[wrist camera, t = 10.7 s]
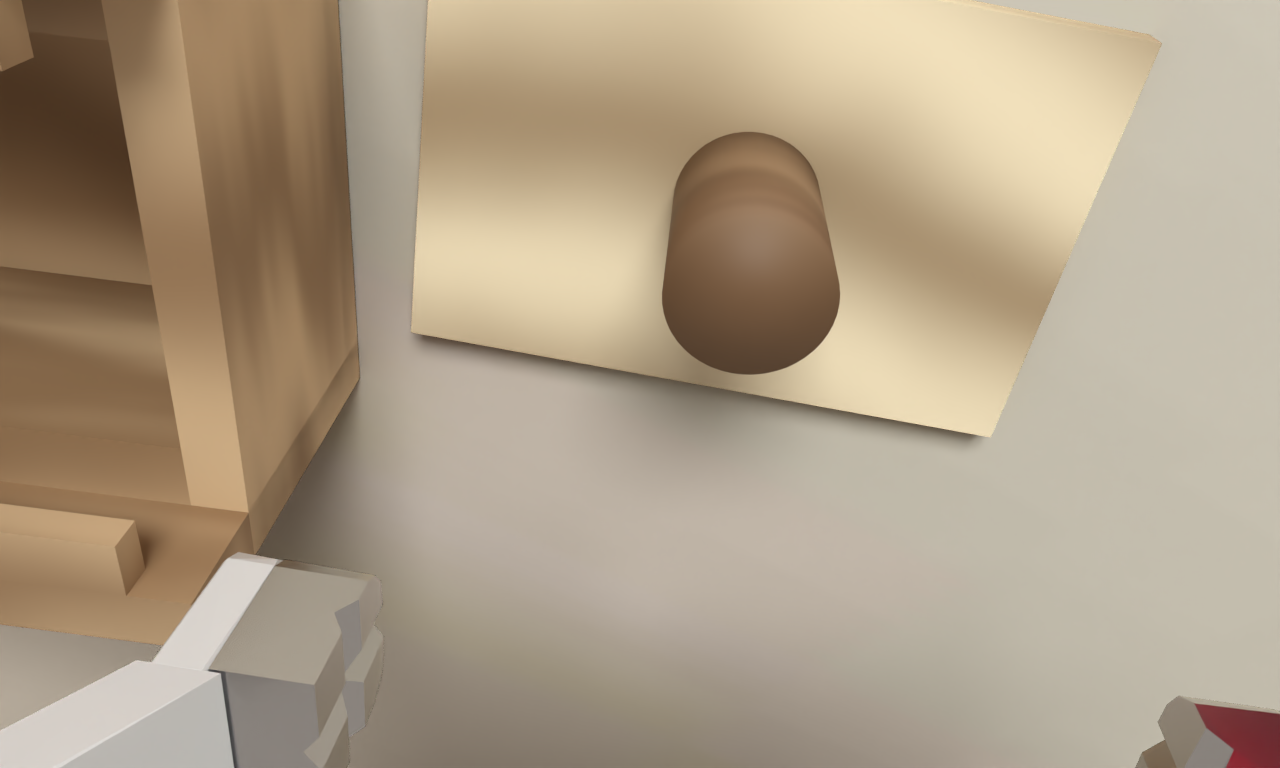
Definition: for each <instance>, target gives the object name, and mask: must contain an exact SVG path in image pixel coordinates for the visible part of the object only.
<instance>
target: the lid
mask: <svg viewBox="0 0 1280 768" xmlns="http://www.w3.org/2000/svg"><path fill="white" fill-rule="evenodd" d="M1161 45H1162V43H1161V42H1159V41H1158V40H1156V39H1155V38H1153V37H1152V36H1150V35H1149V34H1144V33H1139V32H1134V31H1128V30H1123V29H1118V28H1113V27H1108V26H1102V25H1097V24H1092V23H1087V22H1082V21H1077V20H1071V19H1066V18H1061V17H1056V16H1051V15H1045V14H1040V13H1035V12H1030V11H1025V10H1020V9H1014V8H1009V7H1004V6H999V5H994V4H988V3H983V2H978V1H973V0H428V9H427V28H426V48H425V68H424V87H423V107H422V126H421V146H420V165H419V185H418V204H417V224H416V243H415V263H414V282H413V302H412V322H411V333H417V334H422V335H428V336H433V337H439V338H445V339H450V340H456V341H461V342H467V343H472V344H478V345H483V346H489V347H494V348H500V349H505V350H511V351H516V352H522V353H527V354H533V355H538V356H544V357H549V358H555V359H560V360H566V361H571V362H577V363H583V364H588V365H594V366H599V367H605V368H610V369H616V370H621V371H627V372H632V373H638V374H643V375H649V376H654V377H660V378H665V379H671V380H676V381H682V382H687V383H693V384H698V385H704V386H710V387H715V388H721V389H726V390H732V391H737V392H743V393H748V394H754V395H759V396H765V397H770V398H776V399H781V400H787V401H792V402H798V403H803V404H809V405H814V406H820V407H825V408H831V409H837V410H842V411H848V412H853V413H859V414H864V415H870V416H875V417H881V418H886V419H892V420H897V421H903V422H908V423H914V424H919V425H925V426H930V427H936V428H941V429H947V430H952V431H958V432H963V433H969V434H975V435H980V436H986V437H991V436H992V433H993V431H994V429H995V426H996V424H997V422H998V419H999V417H1000V415H1001V413H1002V410H1003V408H1004V406H1005V403H1006V401H1007V399H1008V396H1009V394H1010V392H1011V390H1012V387H1013V385H1014V383H1015V380H1016V378H1017V376H1018V374H1019V371H1020V369H1021V367H1022V364H1023V362H1024V360H1025V357H1026V355H1027V353H1028V351H1029V348H1030V346H1031V344H1032V341H1033V339H1034V337H1035V334H1036V332H1037V330H1038V328H1039V325H1040V323H1041V321H1042V318H1043V316H1044V314H1045V311H1046V309H1047V307H1048V305H1049V302H1050V300H1051V298H1052V295H1053V293H1054V291H1055V288H1056V286H1057V284H1058V282H1059V279H1060V277H1061V275H1062V272H1063V270H1064V268H1065V265H1066V263H1067V261H1068V259H1069V256H1070V254H1071V252H1072V249H1073V247H1074V245H1075V242H1076V240H1077V238H1078V236H1079V233H1080V231H1081V229H1082V226H1083V224H1084V222H1085V219H1086V217H1087V215H1088V213H1089V210H1090V208H1091V206H1092V203H1093V201H1094V199H1095V197H1096V194H1097V192H1098V190H1099V187H1100V185H1101V183H1102V180H1103V178H1104V176H1105V174H1106V171H1107V169H1108V167H1109V164H1110V162H1111V160H1112V157H1113V155H1114V153H1115V151H1116V148H1117V146H1118V144H1119V141H1120V139H1121V137H1122V134H1123V132H1124V130H1125V128H1126V125H1127V123H1128V121H1129V118H1130V116H1131V114H1132V111H1133V109H1134V107H1135V105H1136V102H1137V100H1138V98H1139V95H1140V93H1141V91H1142V88H1143V86H1144V84H1145V82H1146V79H1147V77H1148V75H1149V72H1150V70H1151V68H1152V65H1153V63H1154V61H1155V59H1156V56H1157V54H1158V52H1159V49H1160V47H1161Z"/></svg>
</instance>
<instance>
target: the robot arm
mask: <svg viewBox="0 0 1280 768" xmlns="http://www.w3.org/2000/svg"><path fill="white" fill-rule="evenodd" d="M382 605H383V600H382V586H381V580H380V579H379V578H378V577H377V576H376V575H372V574H366V573H360V572H355V571H349V570H343V569H337V568H332V567H326V566H320V565H315V564H309V563H303V562H298V561H292V560H286V559H285V560H279V559H274V558H268V557H263V556H257V555H252V554H246V553H241V552H237V553H236V554H234V555H232V556H231V557H229V558H227V559H226V560H225V561H224V562H223V563H222V565H221V566H220V568H219V569H218V570H217V572H216V573H215V574H214V576H213V577H212V579H211V580H210V581H209V583H208V584H207V585H206V587H205V588H204V590H203V591H202V592H201V594H200V595H199V596H198V598H197V599H196V601H195V602H194V603H193V605H192V606H191V607H190V609H189V610H188V612H187V613H186V614H185V616H184V617H183V619H182V620H181V621H180V623H179V624H178V625H177V627H176V628H175V630H174V631H173V632H172V634H171V635H170V636H169V638H168V639H167V641H166V642H165V643H164V645H163V646H162V647H161V649H160V650H159V652H158V653H157V654H156V656H155V657H154V658H153V660H152V661H151V662H146V661H138V660H136V661H134V662H132V663H130V664H128V665H126V666H124V667H122V668H120V669H118V670H116V671H115V672H113V673H111V674H109V675H107V676H105V677H103V678H101V679H99V680H97V681H95V682H93V683H91V684H89V685H87V686H85V687H84V688H82V689H80V690H78V691H76V692H74V693H72V694H70V695H68V696H66V697H64V698H62V699H60V700H58V701H56V702H54V703H53V704H51V705H49V706H47V707H45V708H43V709H41V710H39V711H37V712H35V713H33V714H31V715H29V716H27V717H25V718H23V719H22V720H20V721H18V722H16V723H14V724H12V725H10V726H8V727H6V728H4V729H2V730H0V768H347V767H348V765H349V763H350V754H349V737H350V736H352V735H353V734H355V733H356V732H358V731H359V730H361V729H362V728H364V727H365V726H366V723H367V721H368V719H369V716H370V714H371V711H372V709H373V707H374V704H375V701H376V697H377V693H378V689H379V685H380V681H381V678H382V671H383V661H384V636H383V635H382V634H381V633H380V631H379V630H378V629H377V628H376V626H375V625H374V622H375V620H376V618H377V616H378V614H379V612H380V610H381V607H382ZM1158 724H1159V726H1160V729H1161V731H1162V734H1163V736H1164V738H1165V740H1164V741H1162V742H1160V743H1158V744H1156V745H1155V746H1153V747H1151V748H1149V749H1148V750H1146V751H1144V752H1142V754H1141V756H1140V758H1139V761H1138V763H1137V765H1136V767H1135V768H1280V711H1278V710H1275V709H1269V708H1262V707H1255V706H1248V705H1241V704H1234V703H1227V702H1220V701H1212V700H1205V699H1198V698H1191V697H1184V696H1178V697H1176V698H1175V699H1174V700H1172V701H1171V702H1170V703H1168V704H1167V705H1166V707H1165V709H1164V711H1163V713H1162V715H1161V717H1160V719H1159V720H1158Z"/></svg>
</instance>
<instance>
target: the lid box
mask: <svg viewBox="0 0 1280 768" xmlns="http://www.w3.org/2000/svg"><path fill="white" fill-rule="evenodd" d="M359 378H360V374H359V357H358V340H357V322H356V305H355V287H354V270H353V253H352V235H351V218H350V201H349V183H348V166H347V149H346V131H345V114H344V97H343V79H342V62H341V45H340V27H339V10H338V0H0V624H1V625H9V626H17V627H25V628H33V629H40V630H48V631H56V632H64V633H71V634H79V635H87V636H95V637H102V638H110V639H118V640H126V641H134V642H141V643H149V644H157V645H164V643H165V642H166V641H167V639H168V638H169V636H170V635H171V634H172V632H173V631H174V630H175V628H176V627H177V625H178V624H179V623H180V621H181V620H182V619H183V617H184V616H185V614H186V613H187V612H188V610H189V609H190V607H191V606H192V605H193V603H194V602H195V601H196V599H197V598H198V596H199V595H200V594H201V592H202V591H203V590H204V588H205V587H206V585H207V584H208V583H209V581H210V580H211V579H212V577H213V576H214V574H215V573H216V572H217V570H218V569H219V568H220V566H221V565H222V563H223V562H224V561H225V560H226V559H227V558H229V557H231V556H232V555H234V554H236V553H237V552H241V553H246V554H252V555H256V553H257V552H258V550H259V548H260V546H261V545H262V543H263V541H264V540H265V538H266V536H267V535H268V533H269V531H270V529H271V528H272V526H273V524H274V523H275V521H276V519H277V518H278V516H279V514H280V512H281V511H282V509H283V507H284V506H285V504H286V502H287V501H288V499H289V497H290V496H291V494H292V492H293V490H294V489H295V487H296V485H297V484H298V482H299V480H300V479H301V477H302V475H303V473H304V472H305V470H306V468H307V467H308V465H309V463H310V462H311V460H312V458H313V456H314V455H315V453H316V451H317V450H318V448H319V446H320V445H321V443H322V441H323V439H324V438H325V436H326V434H327V433H328V431H329V429H330V428H331V426H332V424H333V422H334V421H335V419H336V417H337V416H338V414H339V412H340V411H341V409H342V407H343V405H344V404H345V402H346V400H347V399H348V397H349V395H350V394H351V392H352V390H353V388H354V387H355V385H356V383H357V382H358V380H359Z"/></svg>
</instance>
